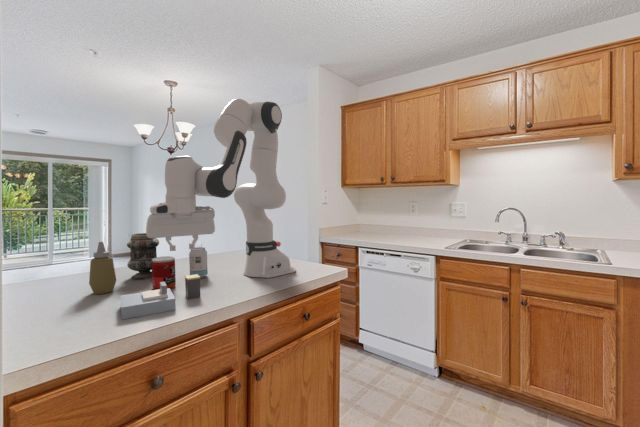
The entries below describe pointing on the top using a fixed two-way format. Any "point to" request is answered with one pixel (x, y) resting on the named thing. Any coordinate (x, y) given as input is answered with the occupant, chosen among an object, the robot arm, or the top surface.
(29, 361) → the top surface
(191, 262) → the beverage can
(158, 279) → the canned food
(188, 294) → the plug
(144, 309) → the socket block
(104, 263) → the squeeze bottle
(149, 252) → the apothecary jar
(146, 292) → the panel
